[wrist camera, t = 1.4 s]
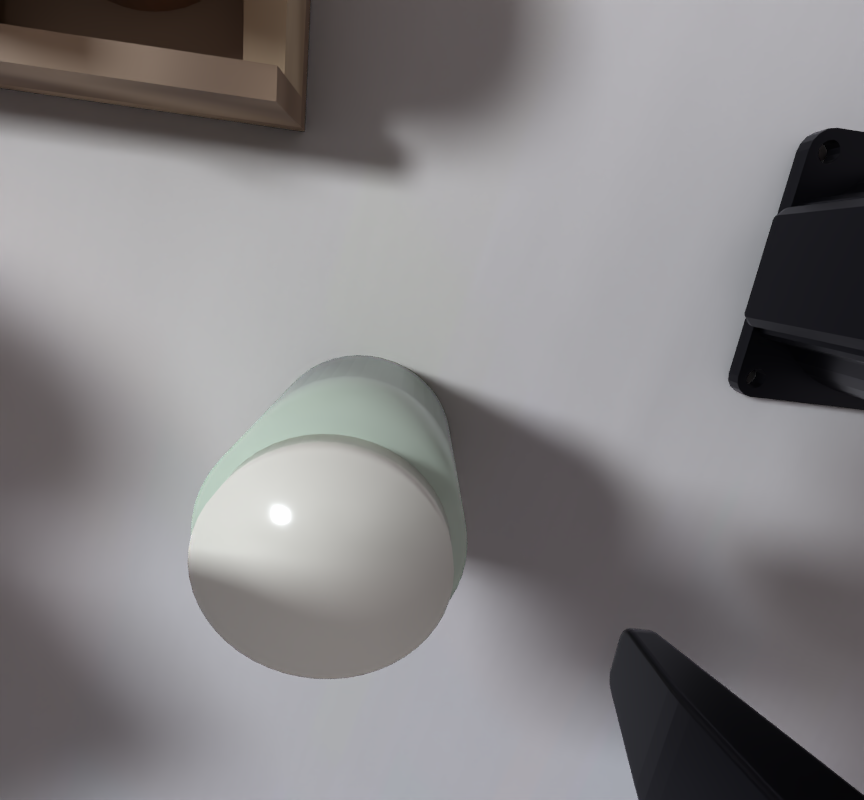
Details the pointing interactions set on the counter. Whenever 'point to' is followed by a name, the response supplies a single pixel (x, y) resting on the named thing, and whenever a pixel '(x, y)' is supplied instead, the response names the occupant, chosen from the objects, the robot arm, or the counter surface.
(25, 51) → the wooden tray
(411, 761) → the counter surface
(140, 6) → the terracotta jar
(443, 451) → the sage jar
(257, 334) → the counter surface
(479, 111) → the counter surface
